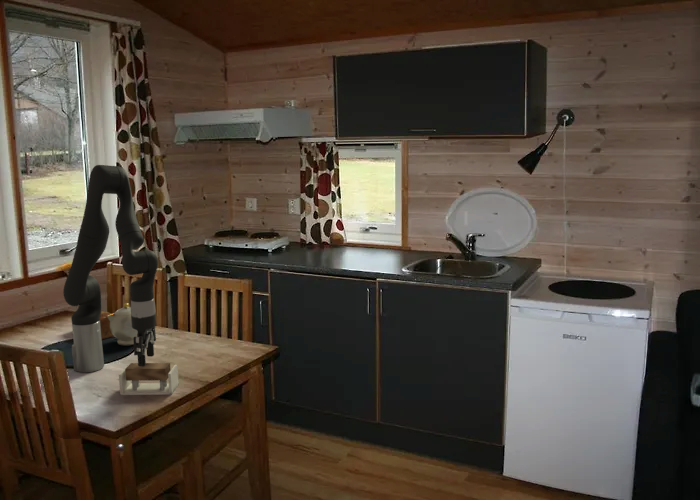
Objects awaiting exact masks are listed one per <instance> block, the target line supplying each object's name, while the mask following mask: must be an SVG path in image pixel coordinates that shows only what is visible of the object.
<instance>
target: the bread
mask: <svg viewBox="0 0 700 500" xmlns="http://www.w3.org/2000/svg"><path fill="white" fill-rule="evenodd" d="M110 314H112V313H111V312H109V311H106V310H102V309H101V314H100V326H101V337H102V340H103V339H104V340H105V339H108V338H113V337H115V336H114V335H113V334H112V332H111V330H110V320H109V319H108V315H110Z"/></svg>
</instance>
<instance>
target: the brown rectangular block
mask: <svg viewBox="0 0 700 500" xmlns="http://www.w3.org/2000/svg"><path fill="white" fill-rule="evenodd" d="M128 365H129V366H128V367H127V368H126V369H125V372H126V381H131V382H132V381H139V382H140V381H142V382H143V381H147V382H148V381H160V380H169V379H168V373H169V372H170V371H171V369H172V368H171V362H146V365H145V366H138V362H131V363H129V364H128Z"/></svg>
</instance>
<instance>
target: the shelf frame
mask: <svg viewBox="0 0 700 500" xmlns="http://www.w3.org/2000/svg"><path fill="white" fill-rule="evenodd" d="M129 365H130V364H128V365H126V366H125V367H124V368H123V369H122V370H121V371H120V372H119V374H118V382H119V393H120V396H145V395H146V396H149V395H151V396H154V395H158V396H159V395H162V396H163V395H173V393H174V392H175V391H176V389H177V388H178V386H179V384H180V383H179V372H178V371H179V369H178V364H174V365H173V367H172V368H170V369H171V371H170V372H169V373H168V379H167V380H168V381H167V380H159V382H145V383H144V382H142V383H140V381H126V372H125V369H126V368H127V367H128V366H129Z"/></svg>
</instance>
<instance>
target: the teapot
mask: <svg viewBox="0 0 700 500" xmlns="http://www.w3.org/2000/svg"><path fill="white" fill-rule="evenodd" d="M108 319H109V320H110V330H111V332H112V334H113V335H114V336H113V337H115V339H117V341H116V342H117V345H120V346H123V347H124V346H125V347H128V346H134V339H133V338H134V337H137V333H138V331H137V330H135V329H133V328H132V323H131V306H130V303H128V302H125V303H123V307H122V308H119V309H117V310H116V311H115V312H113V313H111V314H110V315H108Z"/></svg>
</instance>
